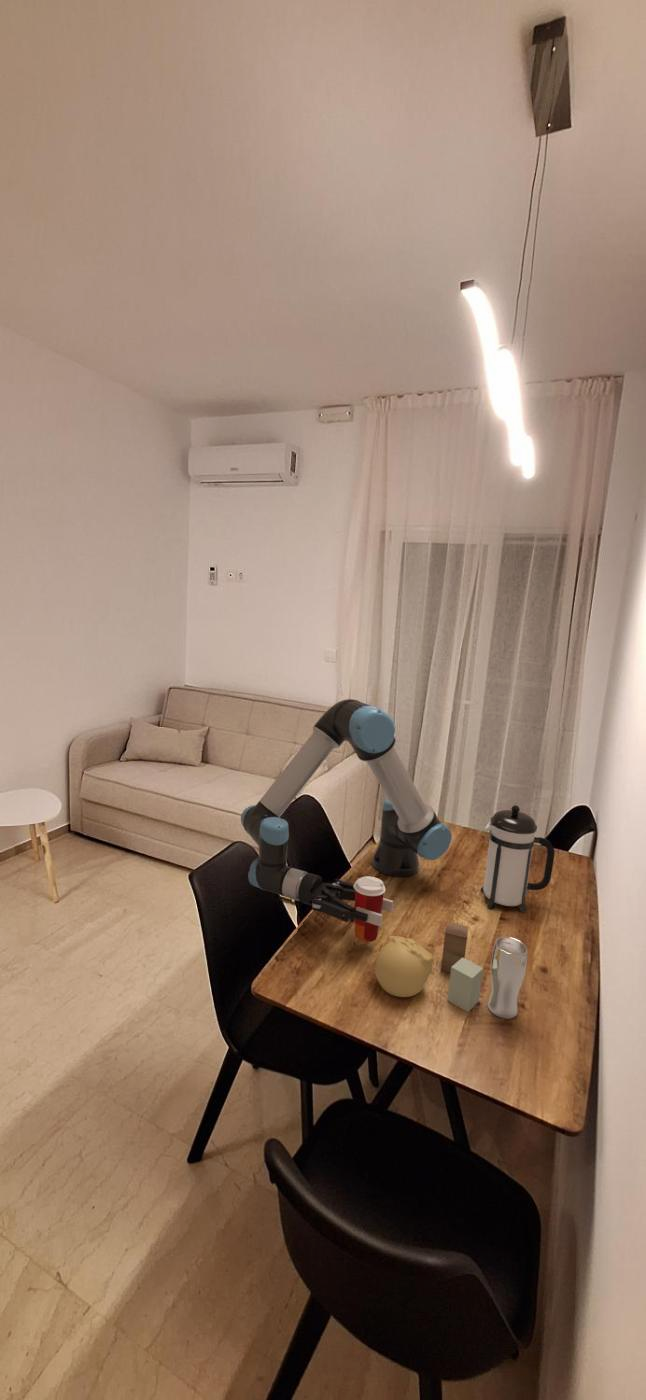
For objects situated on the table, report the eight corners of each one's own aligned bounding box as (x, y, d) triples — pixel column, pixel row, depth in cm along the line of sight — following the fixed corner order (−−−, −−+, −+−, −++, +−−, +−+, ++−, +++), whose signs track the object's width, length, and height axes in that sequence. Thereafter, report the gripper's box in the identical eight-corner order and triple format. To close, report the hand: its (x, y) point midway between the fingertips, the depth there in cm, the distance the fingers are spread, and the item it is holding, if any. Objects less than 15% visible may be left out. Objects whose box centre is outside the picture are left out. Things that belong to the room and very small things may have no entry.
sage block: (458, 989, 127) (462, 957, 125) (478, 1001, 123) (483, 968, 122) (447, 1000, 123) (451, 966, 122) (467, 1012, 120) (472, 978, 118)
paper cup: (383, 930, 142) (388, 878, 140) (378, 947, 135) (383, 893, 132) (353, 923, 144) (357, 872, 142) (346, 940, 137) (350, 887, 134)
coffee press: (512, 922, 156) (526, 820, 151) (466, 896, 169) (478, 801, 164) (547, 906, 167) (562, 810, 162) (502, 883, 179) (514, 792, 174)
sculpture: (437, 988, 126) (442, 944, 125) (404, 1012, 118) (409, 966, 116) (397, 963, 134) (401, 921, 133) (363, 984, 126) (367, 940, 124)
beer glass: (524, 1009, 122) (533, 946, 119) (511, 1025, 117) (520, 960, 114) (494, 993, 126) (502, 932, 124) (479, 1008, 121) (488, 944, 119)
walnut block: (442, 959, 137) (447, 921, 136) (463, 964, 136) (468, 926, 134) (440, 971, 133) (445, 932, 131) (462, 977, 131) (467, 937, 129)
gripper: (320, 884, 155) (399, 909, 145) (283, 917, 138) (370, 948, 128) (321, 859, 154) (401, 882, 144) (285, 889, 137) (372, 918, 127)
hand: (386, 913), depth 136 cm, fingers closed on paper cup, 7 cm apart
